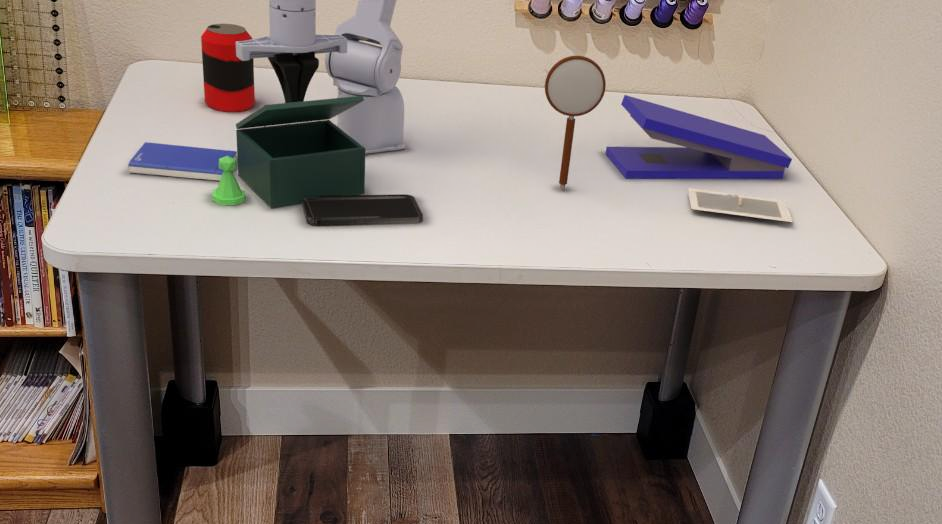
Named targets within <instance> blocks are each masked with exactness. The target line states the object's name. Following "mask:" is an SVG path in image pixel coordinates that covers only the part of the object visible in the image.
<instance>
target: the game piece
mask: <svg viewBox="0 0 942 524" xmlns="http://www.w3.org/2000/svg"><path fill="white" fill-rule="evenodd" d="M219 168H220V169H222V170H224V171H223V174H222V177H221V179H220V181H219V182H218V186H217V188H216V189H213V190H212V194H211V199H212V202H214V203H216V204H218V205H220V206H236V205H239V204H242V203H244V202H245V199H246V190H243V189H241V187H240V185H239V183H238V181H237V178H236V177H235V174H234V172H233V171H234V170H236V169H237V160H236V159H234V158H231V157H229V156H225V157H222V158H220V159H219Z"/></svg>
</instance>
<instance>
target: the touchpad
mask: <svg viewBox="0 0 942 524" xmlns="http://www.w3.org/2000/svg"><path fill="white" fill-rule="evenodd" d="M687 191H688V198H689V204H690V210H696V211H704V212H711V213H719V214H726V215H734V216H740V217H741V216H742V217H748V218H749V217H750V218H757V219H765V220H773V221H780V222H789V223H793V219H792V216H791V213H790V210H789V207H788V204H787V202H786V200H784V199H783V200H781V199H775V198H766V197H759V196H753V195H743V194H737V193H729V192H721V191H714V190H707V189H706V190H705V189H699V188H691V187H687Z"/></svg>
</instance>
